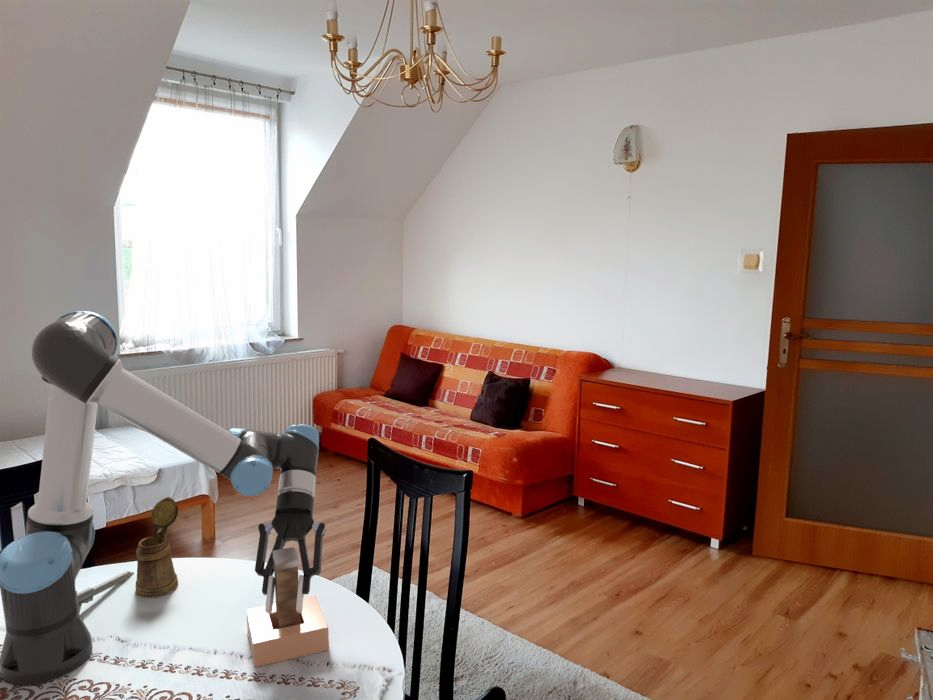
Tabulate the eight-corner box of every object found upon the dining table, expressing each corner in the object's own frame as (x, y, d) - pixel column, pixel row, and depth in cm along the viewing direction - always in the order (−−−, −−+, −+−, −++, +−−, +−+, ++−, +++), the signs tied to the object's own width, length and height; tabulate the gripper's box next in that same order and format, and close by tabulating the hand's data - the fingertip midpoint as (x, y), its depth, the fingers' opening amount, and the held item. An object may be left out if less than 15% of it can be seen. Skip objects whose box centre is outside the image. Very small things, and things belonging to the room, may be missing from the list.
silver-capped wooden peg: (279, 636, 139) (275, 560, 135) (276, 624, 142) (272, 550, 139) (301, 631, 140) (298, 556, 137) (297, 619, 144) (294, 546, 141)
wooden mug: (193, 567, 169) (188, 496, 165) (167, 599, 156) (160, 522, 152) (156, 566, 170) (150, 495, 166) (127, 597, 156) (120, 521, 152)
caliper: (70, 624, 147) (67, 596, 145) (66, 623, 147) (63, 596, 146) (134, 574, 166) (132, 549, 165) (130, 573, 167) (127, 549, 165)
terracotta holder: (254, 667, 134) (253, 643, 133) (247, 631, 144) (246, 609, 143) (328, 650, 139) (328, 627, 138) (316, 617, 150) (316, 595, 149)
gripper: (341, 502, 153) (333, 615, 140) (255, 503, 152) (240, 617, 139) (337, 488, 146) (329, 606, 134) (248, 489, 145) (230, 608, 133)
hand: (283, 611), depth 136 cm, fingers closed on silver-capped wooden peg, 5 cm apart
